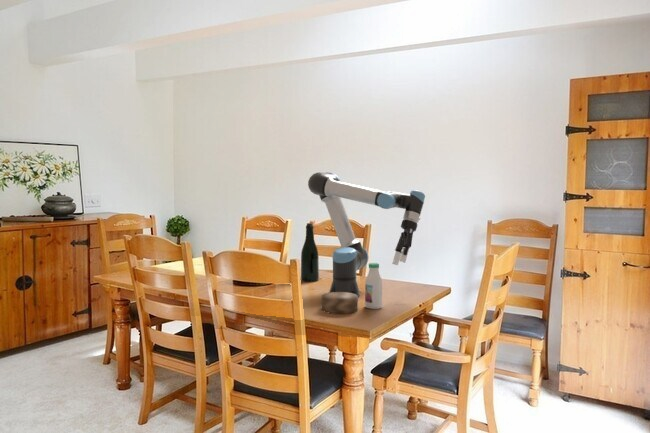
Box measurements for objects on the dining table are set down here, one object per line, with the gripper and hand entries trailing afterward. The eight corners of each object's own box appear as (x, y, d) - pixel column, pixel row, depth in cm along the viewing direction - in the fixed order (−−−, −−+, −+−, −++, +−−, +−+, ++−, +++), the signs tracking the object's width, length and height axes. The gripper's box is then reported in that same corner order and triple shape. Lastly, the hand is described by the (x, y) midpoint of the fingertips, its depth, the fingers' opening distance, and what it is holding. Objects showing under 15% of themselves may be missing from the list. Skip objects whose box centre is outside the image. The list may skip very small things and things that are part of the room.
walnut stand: (319, 313, 215) (319, 299, 214) (324, 304, 231) (324, 291, 230) (356, 314, 213) (356, 300, 213) (358, 305, 229) (358, 292, 228)
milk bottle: (380, 305, 229) (381, 262, 228) (383, 309, 222) (383, 264, 220) (364, 305, 229) (364, 262, 228) (366, 309, 222) (366, 265, 220)
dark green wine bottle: (299, 278, 291) (299, 222, 288) (317, 278, 293) (317, 222, 290) (301, 282, 280) (301, 224, 278) (320, 281, 282) (320, 223, 280)
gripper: (425, 219, 229) (413, 263, 225) (410, 228, 254) (399, 267, 249) (410, 214, 229) (397, 258, 224) (396, 223, 253) (385, 263, 249)
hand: (398, 263), depth 237 cm, fingers open, 13 cm apart
